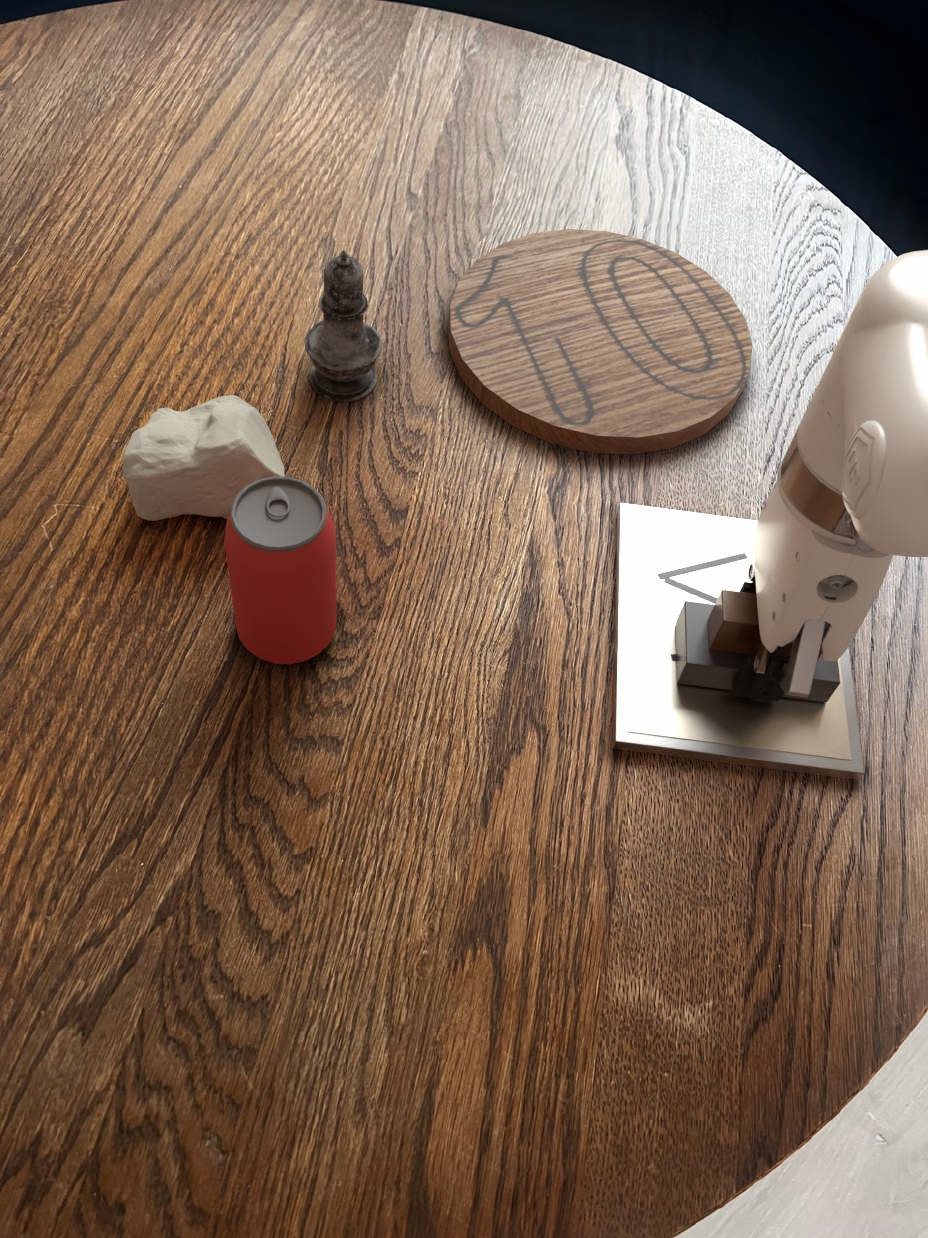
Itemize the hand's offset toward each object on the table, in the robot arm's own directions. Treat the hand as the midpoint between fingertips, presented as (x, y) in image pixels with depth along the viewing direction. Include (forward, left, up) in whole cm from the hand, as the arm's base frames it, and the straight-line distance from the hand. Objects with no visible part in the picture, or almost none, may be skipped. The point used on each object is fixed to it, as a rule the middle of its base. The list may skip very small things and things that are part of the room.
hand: (753, 656), depth 75 cm
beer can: (-1, +31, -2) cm, 31 cm away
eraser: (0, 0, -1) cm, 1 cm away
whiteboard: (+3, +1, -2) cm, 3 cm away
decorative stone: (+11, +39, -2) cm, 41 cm away
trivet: (+31, +11, -2) cm, 33 cm away
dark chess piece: (+23, +31, -2) cm, 38 cm away
